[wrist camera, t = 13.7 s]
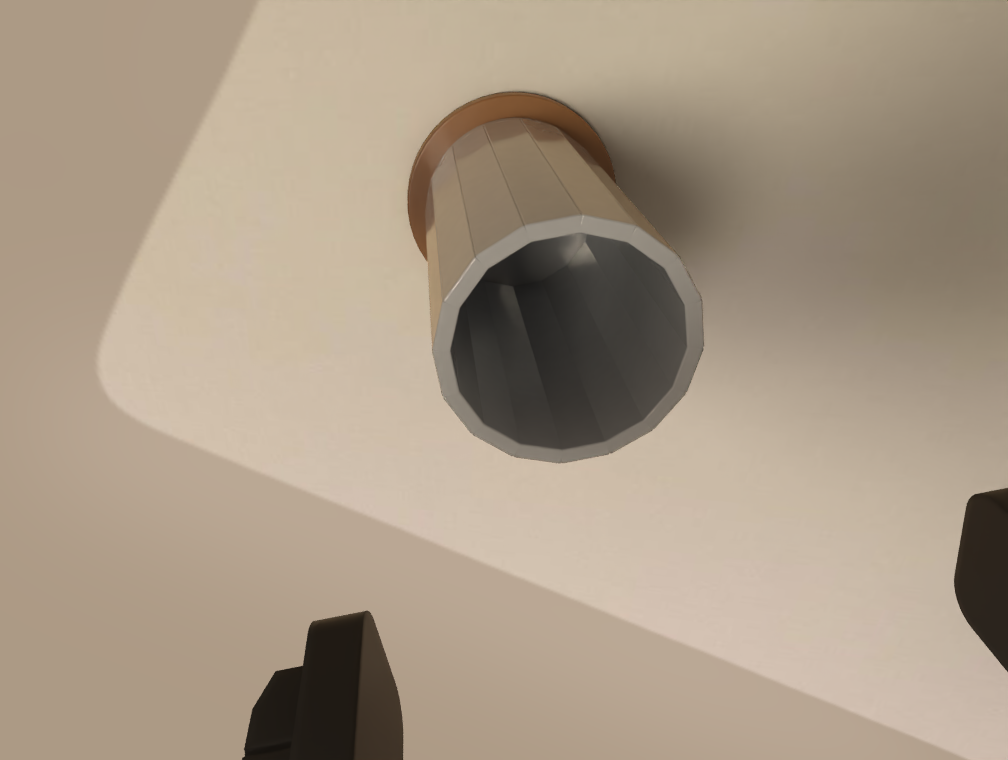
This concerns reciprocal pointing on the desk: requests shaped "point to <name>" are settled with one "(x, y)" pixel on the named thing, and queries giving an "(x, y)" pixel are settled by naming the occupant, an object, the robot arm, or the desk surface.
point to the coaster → (481, 114)
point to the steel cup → (552, 297)
